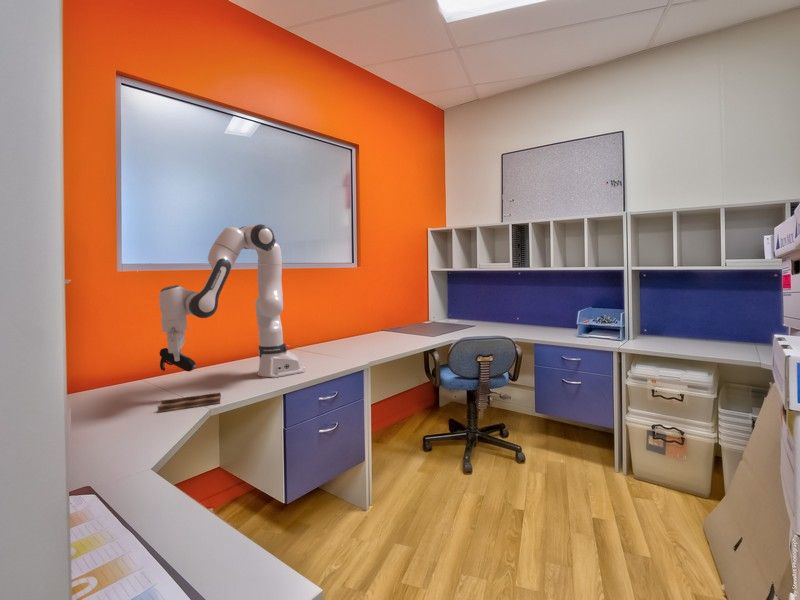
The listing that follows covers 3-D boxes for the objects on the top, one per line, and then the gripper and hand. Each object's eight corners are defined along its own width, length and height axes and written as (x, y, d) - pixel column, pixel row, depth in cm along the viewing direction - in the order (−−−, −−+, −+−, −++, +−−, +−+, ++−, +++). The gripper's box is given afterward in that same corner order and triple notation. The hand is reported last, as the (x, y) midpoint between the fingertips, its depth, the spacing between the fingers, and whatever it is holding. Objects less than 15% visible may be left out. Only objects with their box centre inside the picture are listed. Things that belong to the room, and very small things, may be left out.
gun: (187, 384, 160) (196, 363, 158) (152, 367, 160) (160, 345, 158) (192, 382, 162) (200, 361, 161) (158, 364, 163) (165, 343, 161)
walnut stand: (220, 395, 161) (220, 391, 161) (220, 403, 152) (219, 399, 152) (162, 404, 153) (161, 399, 153) (157, 412, 144) (157, 408, 144)
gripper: (180, 329, 150) (184, 364, 152) (186, 321, 169) (189, 353, 171) (161, 331, 148) (165, 366, 149) (169, 323, 167) (173, 355, 168)
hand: (178, 359), depth 160 cm, fingers closed on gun, 4 cm apart
